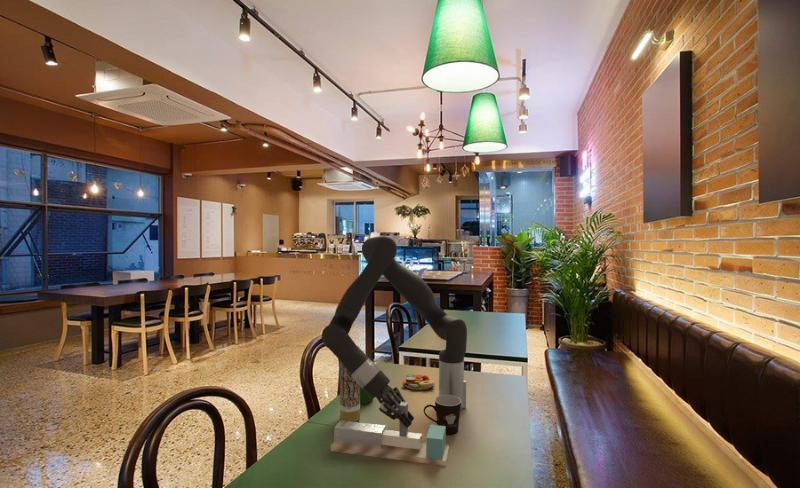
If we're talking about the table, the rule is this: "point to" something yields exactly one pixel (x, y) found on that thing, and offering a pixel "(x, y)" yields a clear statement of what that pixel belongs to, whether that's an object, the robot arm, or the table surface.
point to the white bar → (402, 434)
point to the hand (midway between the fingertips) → (410, 422)
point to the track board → (393, 453)
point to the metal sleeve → (359, 434)
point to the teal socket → (436, 442)
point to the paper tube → (349, 396)
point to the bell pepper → (364, 396)
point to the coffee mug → (447, 412)
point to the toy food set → (418, 382)
